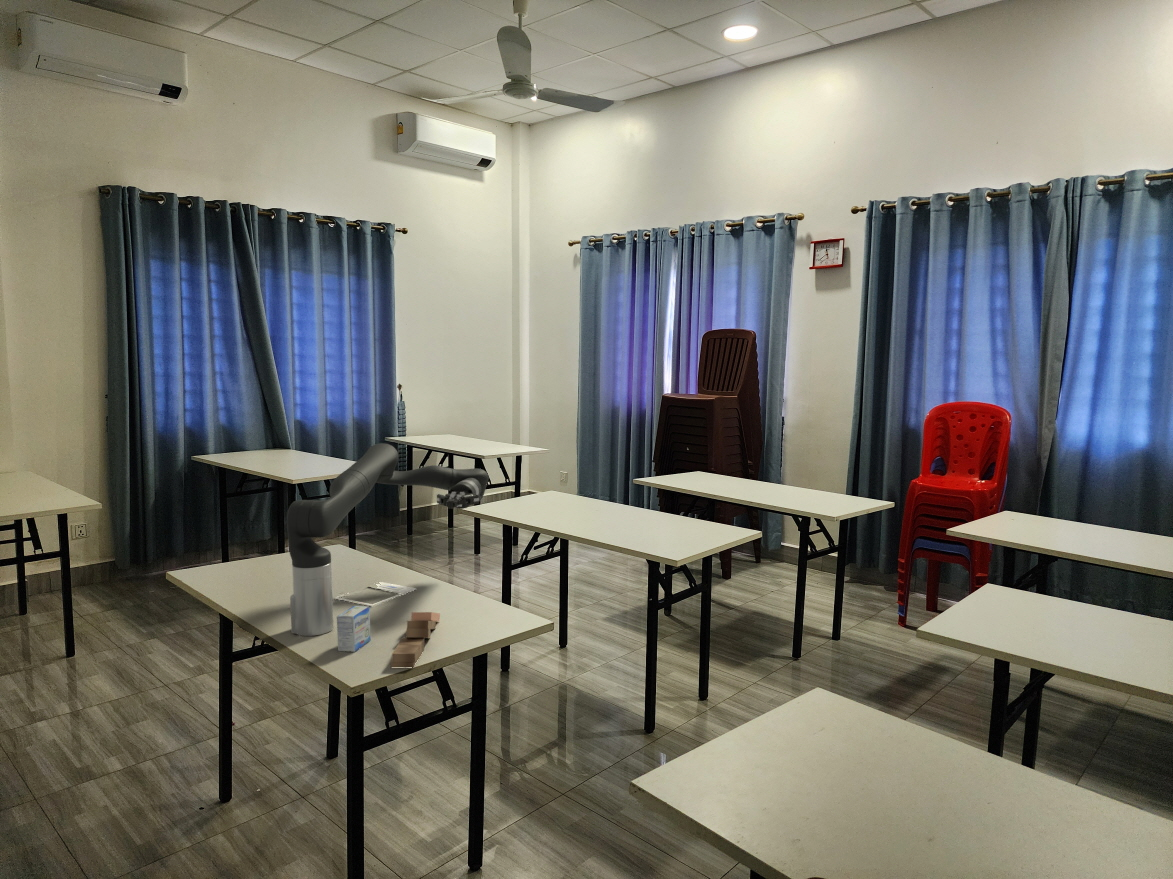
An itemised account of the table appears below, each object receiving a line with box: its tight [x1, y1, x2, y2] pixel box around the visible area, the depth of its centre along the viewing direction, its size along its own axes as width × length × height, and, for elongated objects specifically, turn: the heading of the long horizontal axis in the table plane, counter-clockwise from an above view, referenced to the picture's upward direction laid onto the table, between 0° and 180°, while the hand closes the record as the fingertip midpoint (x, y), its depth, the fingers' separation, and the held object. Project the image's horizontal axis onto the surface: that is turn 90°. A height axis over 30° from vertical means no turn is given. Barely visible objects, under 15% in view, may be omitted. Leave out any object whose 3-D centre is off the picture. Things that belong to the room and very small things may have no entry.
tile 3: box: [405, 627, 432, 639], centre depth 179 cm, size 5×2×10 cm
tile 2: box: [406, 620, 437, 630], centre depth 185 cm, size 5×2×10 cm
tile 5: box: [390, 647, 425, 669], centre depth 170 cm, size 5×2×10 cm
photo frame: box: [334, 581, 417, 607], centre depth 218 cm, size 15×1×18 cm
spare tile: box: [410, 611, 441, 622], centre depth 191 cm, size 5×2×10 cm
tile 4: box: [391, 636, 425, 662], centre depth 170 cm, size 5×2×10 cm
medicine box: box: [336, 605, 371, 653], centre depth 178 cm, size 8×4×9 cm, turn 168°
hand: (450, 504), depth 207 cm, fingers closed
